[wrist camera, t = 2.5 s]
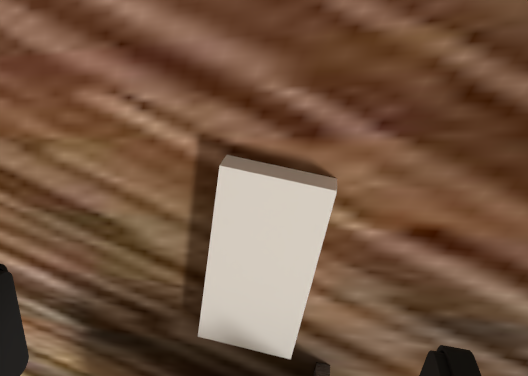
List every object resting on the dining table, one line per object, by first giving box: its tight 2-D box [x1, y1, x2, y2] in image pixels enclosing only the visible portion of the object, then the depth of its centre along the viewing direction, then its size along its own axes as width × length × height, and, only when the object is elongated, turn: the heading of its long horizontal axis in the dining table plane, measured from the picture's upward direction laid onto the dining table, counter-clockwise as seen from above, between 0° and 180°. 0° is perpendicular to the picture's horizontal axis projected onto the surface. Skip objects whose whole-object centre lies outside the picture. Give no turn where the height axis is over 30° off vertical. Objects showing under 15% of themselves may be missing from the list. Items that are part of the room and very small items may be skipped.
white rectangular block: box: [198, 155, 337, 359], centre depth 33 cm, size 16×8×2 cm, turn 171°
